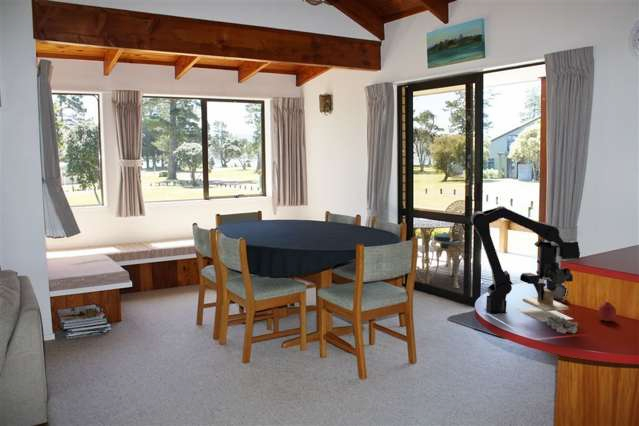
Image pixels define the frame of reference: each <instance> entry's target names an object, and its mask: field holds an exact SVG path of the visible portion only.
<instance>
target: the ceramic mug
mask: <svg viewBox="0 0 639 426" xmlns="http://www.w3.org/2000/svg"><path fill="white" fill-rule="evenodd" d="M564 284H565V283H564ZM564 284H563V283H562V284H560V285H559V286H557V288H556V289H555V291H554V297H553V300H554V301H555V299H556V300H561V302H565V300H567V299H568V297H569V289H568V287H567V285H566V284H565V285H566V286H565V285H564ZM564 286H565V287H566V288H565V287H564ZM566 289H567V295H566V297H565V298H564V299H563V297H564V296H565V293H566Z"/></svg>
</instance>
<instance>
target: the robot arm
mask: <svg viewBox="0 0 639 426" xmlns="http://www.w3.org/2000/svg"><path fill="white" fill-rule="evenodd" d="M501 219H505V220H507V221H509V222H511V223H514V224H516V225H518V226H521V227H523V228H525V229H527V230H530V231H532V232H533V233H535V234H536V235H537V236H539V237H540V238H543V240H545V241H543V240H541V239H538V241H536V242H535V243H534V244H533V245H534V246H535V247H538V248H539V259H537V260H536V263H537V264H538V270H535V271H536V274H535V273H532V272H524V273H521V274H520V277H519V279H520V280H519V281H521V282H523V283H526V284H529V285H533V286H534V289H535V290H536V294H537V297H538V296H539V298H540V300H543V295H544V288H548V289H550V290H553V291H555V289H556V288H557V286H559V285H560V284H562V283H564V284H565V283H566V282H567V283H569V282H573V281H574V276H573V274H572V273H571V269H570V268H560V267H559V265H560V264H559V262H558V261H557V257H559V258H560V260H568V261H569V260H573V261H574V260H575V261H578V260H579V259H580V256H581V251H580V246H579V241H577V240H568V241H566V240H563V239H562V237H561V236H560V231H559V228H557V227H556V226H554V225H553V224H551V223H547V222H543V221H537V220H534V219H532V218H529V217H527V216H525V215H522V214H520V213H518V212H515V211H513V210H511V209H509V208H506V207H505V206H503V205H500V206H497V207H494V208H492V209H487V210H484V211H479V210H478V211H474V212H473V213H472V214H471V216H470V222H471V224H472V225H473V227H474V229H475V231H476V233H477V234H478V235H479V238H480V241H481V243H482V246H483V249H484V252H485V255H486V258H487V261H488V265H489V266H490V269H491V278H492V279H491V280H492V283H491V284H490V285H489V286H488V287H487V288H486V290H487V293H488V295H487V296H486V302H485V303H486V306H485V308H484V309H483V310H484V311H486V312H488V313H489V314H492V315H500V314H502V315H503V314H508V312H507V305H508V304H507V302H508V301H507V300H506V299H507V295H509V294H510V293H511V291H512V290H513V289H512V288H513V287H512V286H513V282H512V281H511V277H510V273H509V272H508V270H505V271H504V270H503V267H502V264H501V262H500V259H499V256H498V253H497V250H496V248H495V244H494V242H493V238H492V236H491V235H492V234H491V228H490V227H491V226H490V224H491V223H494V222H497V221H498V220H501ZM552 242H553V243H554V244H552ZM545 281H546V283H545Z"/></svg>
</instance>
